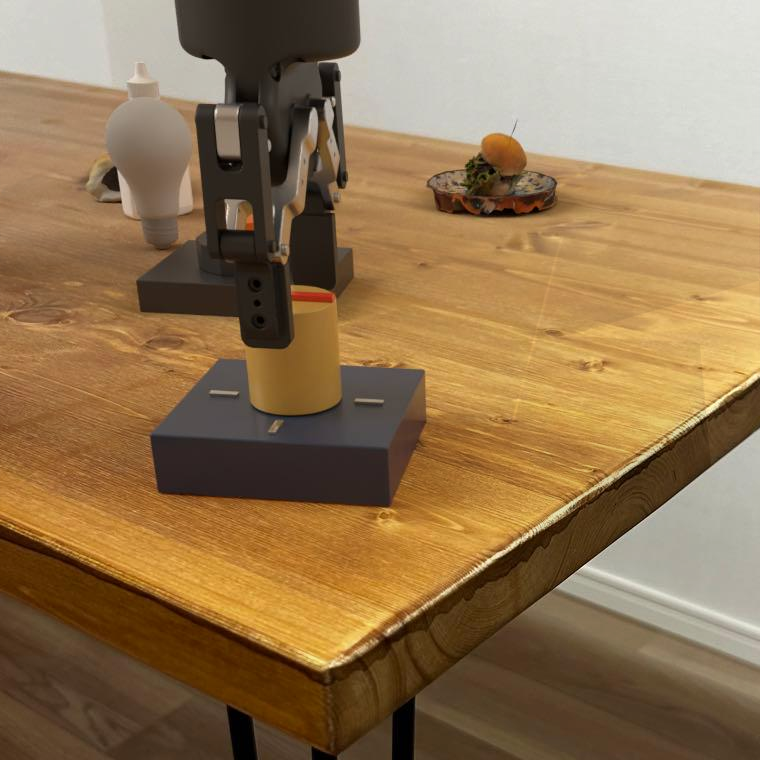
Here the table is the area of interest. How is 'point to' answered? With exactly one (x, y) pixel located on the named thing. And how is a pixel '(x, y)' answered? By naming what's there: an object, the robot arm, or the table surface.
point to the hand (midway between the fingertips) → (294, 315)
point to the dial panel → (292, 440)
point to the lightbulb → (151, 162)
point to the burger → (494, 180)
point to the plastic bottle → (136, 88)
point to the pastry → (104, 180)
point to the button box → (207, 282)
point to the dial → (300, 360)
